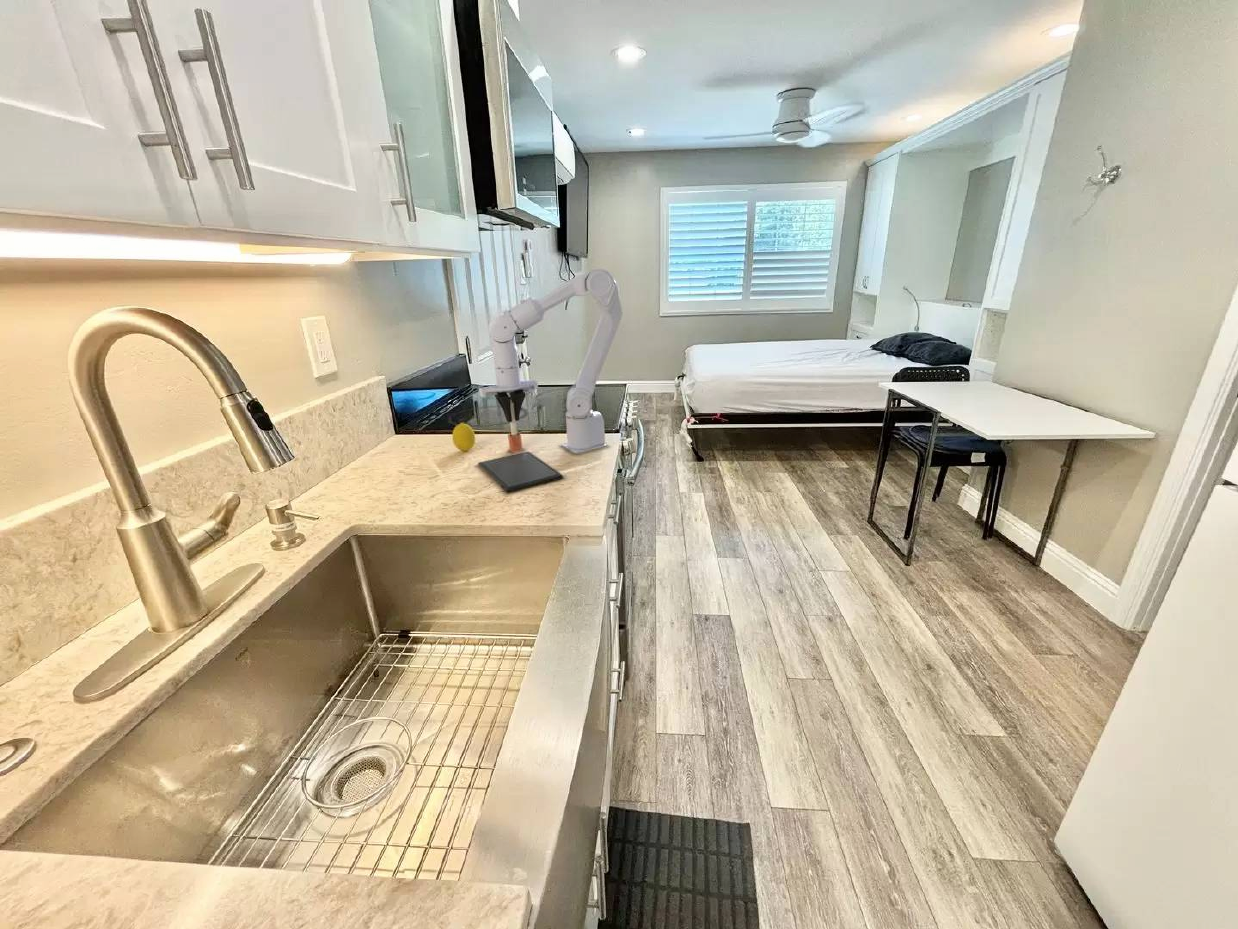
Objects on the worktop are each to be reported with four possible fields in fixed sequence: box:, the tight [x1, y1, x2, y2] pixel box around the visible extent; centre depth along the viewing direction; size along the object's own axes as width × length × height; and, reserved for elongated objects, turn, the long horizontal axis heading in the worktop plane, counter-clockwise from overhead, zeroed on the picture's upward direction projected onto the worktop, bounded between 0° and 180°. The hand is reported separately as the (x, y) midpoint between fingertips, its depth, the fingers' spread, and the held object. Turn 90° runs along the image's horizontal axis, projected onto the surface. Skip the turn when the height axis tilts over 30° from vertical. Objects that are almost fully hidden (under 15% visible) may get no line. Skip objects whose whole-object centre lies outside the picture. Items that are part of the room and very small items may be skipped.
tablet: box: [477, 451, 563, 494], centre depth 114 cm, size 13×19×1 cm
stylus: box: [509, 402, 518, 436], centre depth 124 cm, size 1×1×9 cm
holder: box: [507, 432, 523, 452], centre depth 127 cm, size 3×3×4 cm
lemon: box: [452, 422, 476, 452], centre depth 126 cm, size 6×6×8 cm
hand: (512, 420), depth 124 cm, fingers closed on stylus, 1 cm apart
